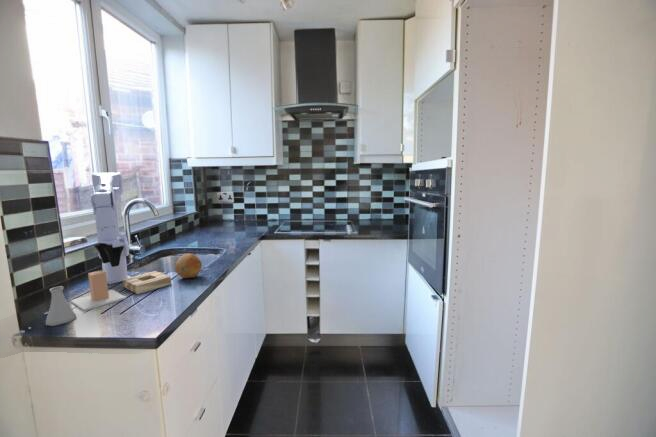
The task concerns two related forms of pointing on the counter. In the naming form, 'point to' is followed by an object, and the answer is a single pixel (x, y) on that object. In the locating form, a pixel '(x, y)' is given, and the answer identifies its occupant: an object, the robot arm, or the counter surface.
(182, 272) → the onion
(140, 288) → the pocket block
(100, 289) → the peg
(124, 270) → the robot arm
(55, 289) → the flask
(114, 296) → the mat
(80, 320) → the counter surface
